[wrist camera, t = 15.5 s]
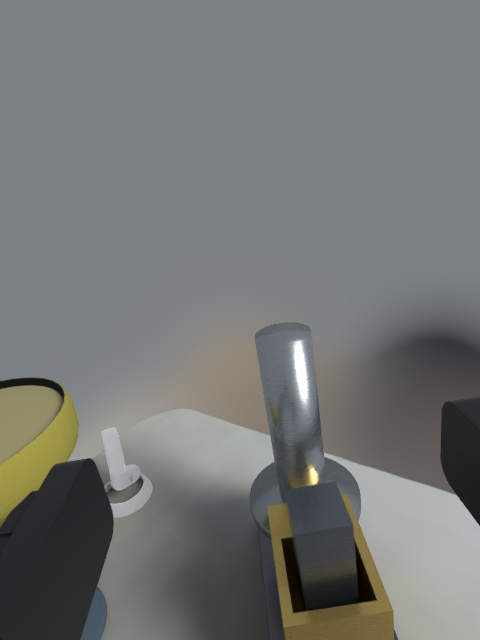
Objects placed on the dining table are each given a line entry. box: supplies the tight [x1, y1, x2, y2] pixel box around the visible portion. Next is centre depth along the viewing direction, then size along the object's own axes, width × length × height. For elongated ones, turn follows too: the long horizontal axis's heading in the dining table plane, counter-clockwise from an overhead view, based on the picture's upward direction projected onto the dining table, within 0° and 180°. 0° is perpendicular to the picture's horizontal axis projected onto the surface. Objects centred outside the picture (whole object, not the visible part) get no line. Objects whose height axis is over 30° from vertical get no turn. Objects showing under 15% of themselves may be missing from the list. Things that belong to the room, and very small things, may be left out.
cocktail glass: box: [0, 378, 107, 640], centre depth 35 cm, size 18×18×25 cm
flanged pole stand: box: [250, 323, 398, 640], centre depth 34 cm, size 19×11×27 cm, turn 3°
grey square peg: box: [285, 481, 359, 612], centre depth 31 cm, size 4×4×16 cm
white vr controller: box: [101, 427, 153, 518], centre depth 56 cm, size 8×12×7 cm
